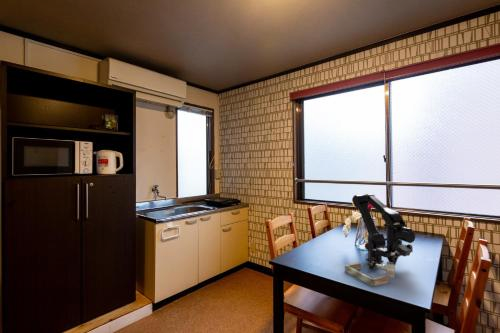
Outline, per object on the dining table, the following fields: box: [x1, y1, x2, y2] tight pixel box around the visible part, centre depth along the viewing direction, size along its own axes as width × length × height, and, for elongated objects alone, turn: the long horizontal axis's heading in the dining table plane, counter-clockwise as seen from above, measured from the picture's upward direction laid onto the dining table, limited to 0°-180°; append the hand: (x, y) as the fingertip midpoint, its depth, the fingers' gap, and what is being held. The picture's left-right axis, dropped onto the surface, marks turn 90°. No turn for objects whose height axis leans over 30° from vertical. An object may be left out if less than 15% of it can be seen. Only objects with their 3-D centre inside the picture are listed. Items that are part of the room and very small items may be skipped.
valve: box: [367, 257, 397, 279], centre depth 122 cm, size 7×7×12 cm
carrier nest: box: [344, 262, 390, 288], centre depth 119 cm, size 17×10×3 cm, turn 22°
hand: (392, 266), depth 126 cm, fingers closed
